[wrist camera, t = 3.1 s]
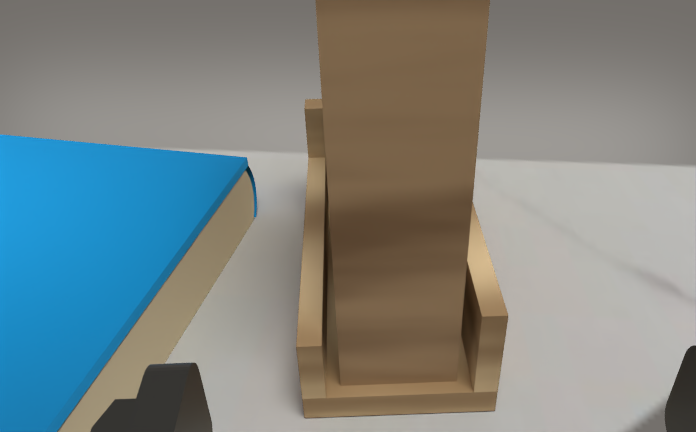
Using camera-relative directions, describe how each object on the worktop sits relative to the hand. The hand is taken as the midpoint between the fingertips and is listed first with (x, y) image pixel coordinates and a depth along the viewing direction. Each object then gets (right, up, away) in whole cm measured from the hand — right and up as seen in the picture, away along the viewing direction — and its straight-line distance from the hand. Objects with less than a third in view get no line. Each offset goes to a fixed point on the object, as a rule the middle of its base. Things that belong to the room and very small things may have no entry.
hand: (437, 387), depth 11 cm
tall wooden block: (0, -1, +14) cm, 14 cm away
